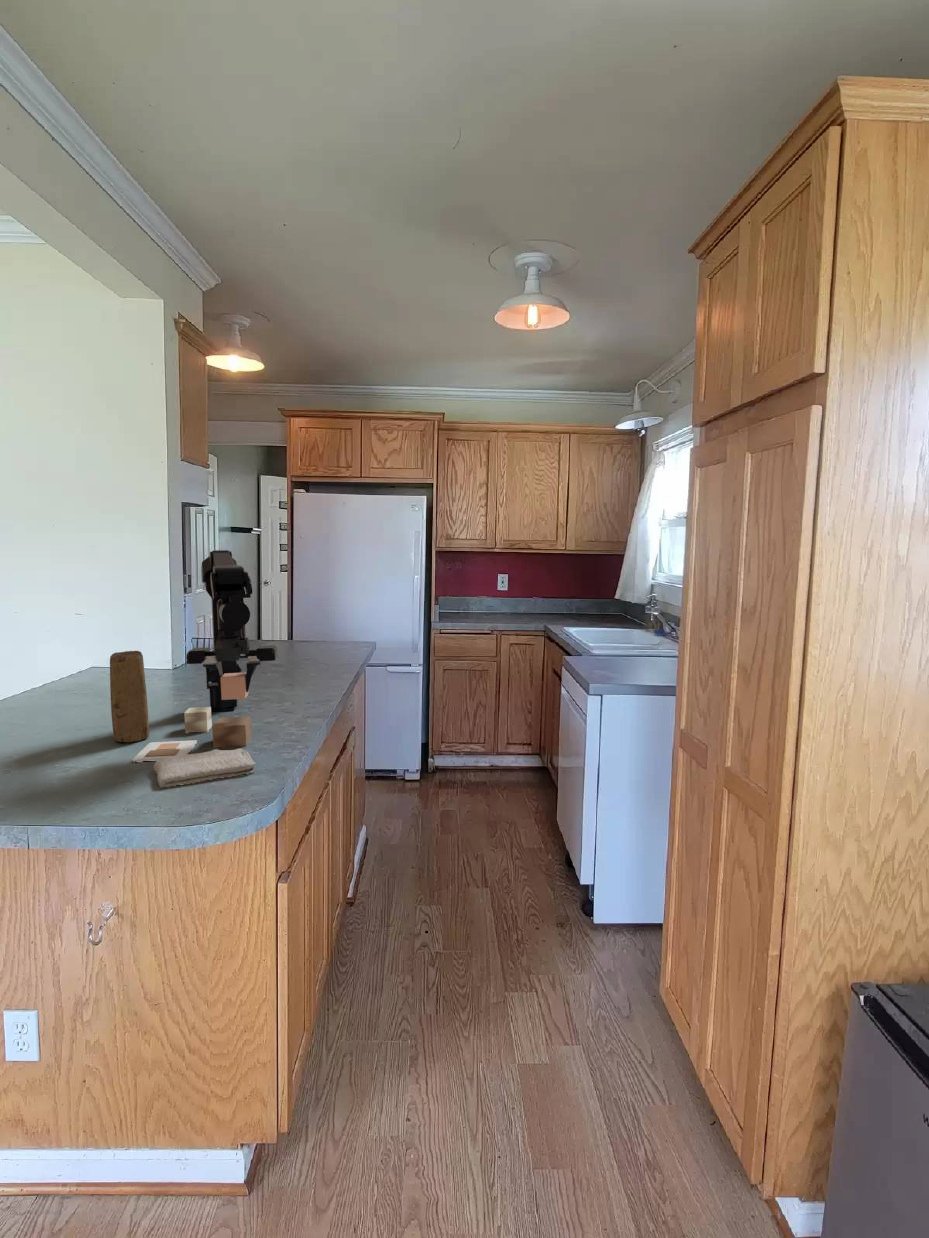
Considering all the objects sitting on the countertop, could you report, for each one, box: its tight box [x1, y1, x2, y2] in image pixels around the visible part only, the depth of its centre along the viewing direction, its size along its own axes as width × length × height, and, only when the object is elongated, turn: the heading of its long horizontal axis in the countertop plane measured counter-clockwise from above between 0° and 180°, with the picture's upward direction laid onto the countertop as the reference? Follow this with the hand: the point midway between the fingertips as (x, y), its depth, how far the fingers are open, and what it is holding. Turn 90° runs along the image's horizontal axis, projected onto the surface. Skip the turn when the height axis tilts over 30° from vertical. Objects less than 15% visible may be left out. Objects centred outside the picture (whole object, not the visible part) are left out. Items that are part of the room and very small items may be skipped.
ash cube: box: [183, 706, 213, 734], centre depth 161 cm, size 5×5×5 cm
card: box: [131, 739, 198, 762], centre depth 144 cm, size 10×12×1 cm
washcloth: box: [153, 748, 257, 788], centre depth 131 cm, size 12×18×3 cm, turn 119°
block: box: [109, 650, 150, 743], centre depth 154 cm, size 11×8×20 cm
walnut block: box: [211, 716, 253, 749], centre depth 150 cm, size 7×7×5 cm
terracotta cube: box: [221, 671, 250, 700], centre depth 150 cm, size 5×5×5 cm
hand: (235, 692), depth 150 cm, fingers closed on terracotta cube, 5 cm apart
